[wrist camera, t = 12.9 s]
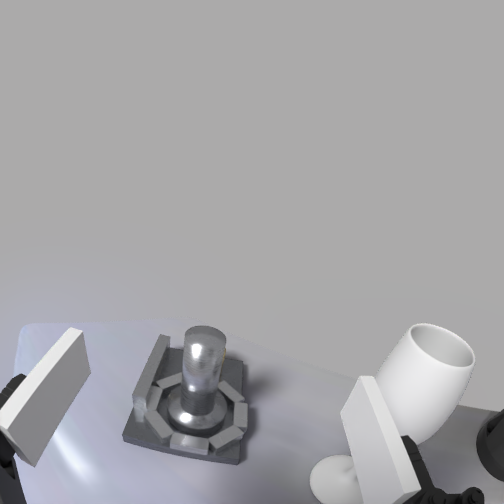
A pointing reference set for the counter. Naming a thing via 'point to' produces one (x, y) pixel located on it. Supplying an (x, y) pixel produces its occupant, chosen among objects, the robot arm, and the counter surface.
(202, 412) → the flanged metal post
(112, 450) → the counter surface
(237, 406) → the carrier plate
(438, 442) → the counter surface
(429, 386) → the wineglass
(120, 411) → the counter surface
